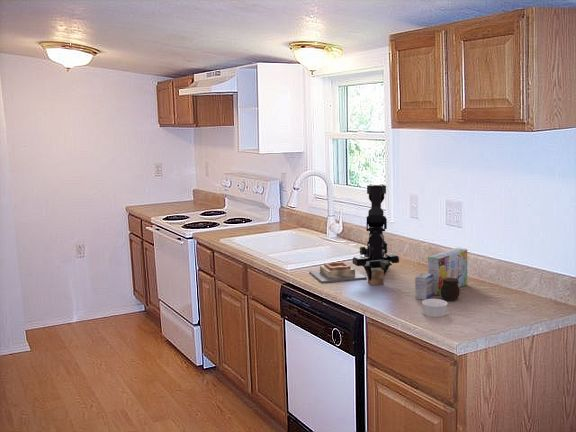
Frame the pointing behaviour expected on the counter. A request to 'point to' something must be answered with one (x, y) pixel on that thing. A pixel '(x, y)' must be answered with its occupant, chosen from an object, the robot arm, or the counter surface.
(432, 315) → the ramekin
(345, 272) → the socket plinth
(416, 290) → the medicine box
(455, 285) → the mate gourd
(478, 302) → the counter surface
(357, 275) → the grey base plate
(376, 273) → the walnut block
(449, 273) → the snack box
